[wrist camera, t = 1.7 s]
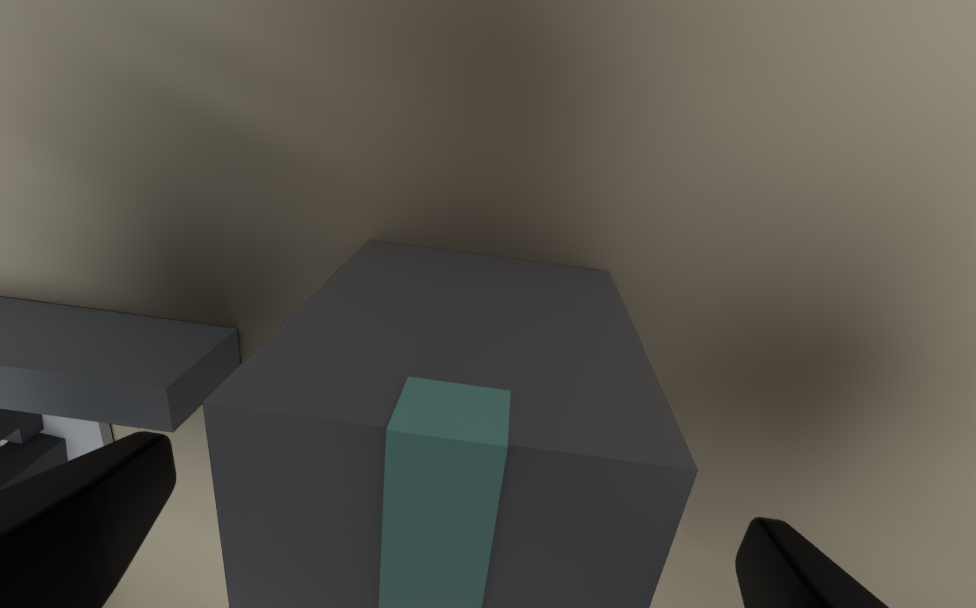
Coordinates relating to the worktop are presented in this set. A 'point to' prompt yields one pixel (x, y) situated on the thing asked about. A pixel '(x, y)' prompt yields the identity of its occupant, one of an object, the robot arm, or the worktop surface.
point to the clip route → (44, 442)
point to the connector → (448, 443)
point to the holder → (109, 364)
